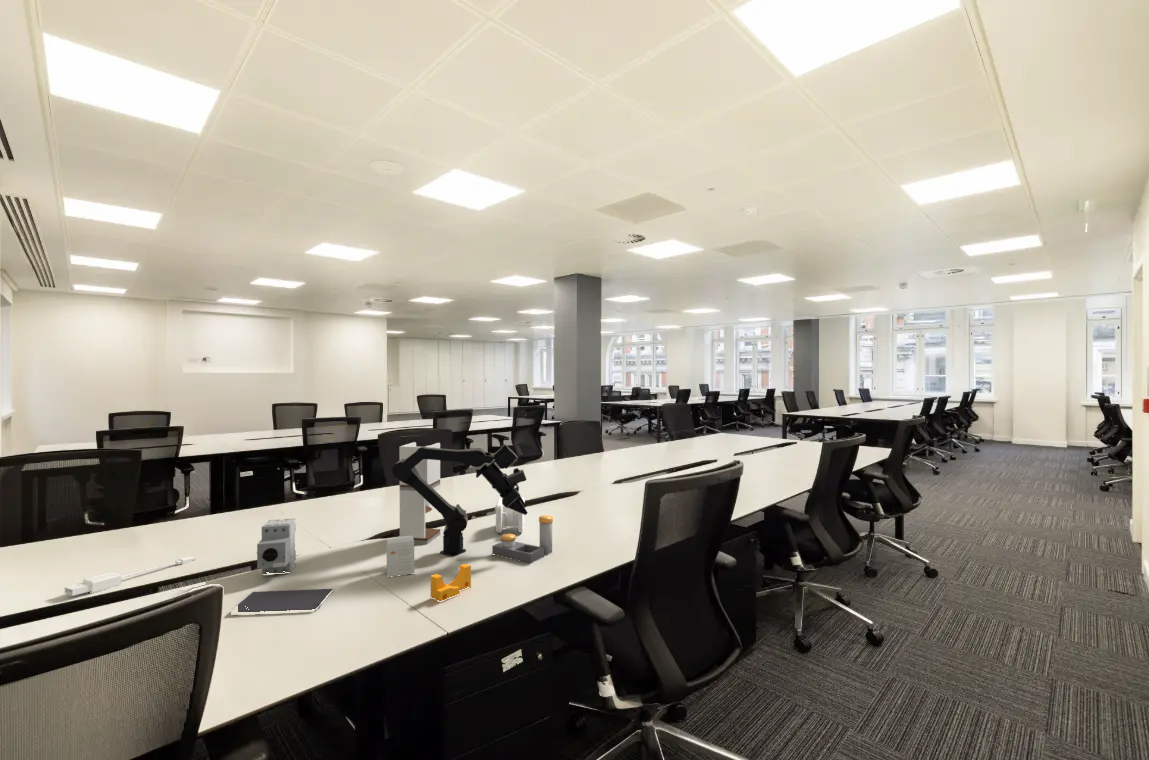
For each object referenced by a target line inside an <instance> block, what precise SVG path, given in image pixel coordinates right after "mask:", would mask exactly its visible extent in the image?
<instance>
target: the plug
mask: <svg viewBox="0 0 1149 760" xmlns="http://www.w3.org/2000/svg"><path fill="white" fill-rule="evenodd" d="M553 522H554V516H553V515H547V514H546V515H545V514H544V515H540V516H539V517H538V523H539V547H544V555H550V554H552V553H553ZM549 553H550V554H549Z"/></svg>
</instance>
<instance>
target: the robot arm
mask: <svg viewBox="0 0 1149 760" xmlns="http://www.w3.org/2000/svg"><path fill="white" fill-rule="evenodd" d="M425 446H426V445H425ZM425 446H422V447H421V446H419V447H420V448H419V449H418V450H417V451H416V452H415V453H413V454H412V455H411V456H409V457H408V458H407V459H402V460H400V459H399V460H398V461H397V462H396V463H395V464H394V465H393V466H392V469H391V473H392V475H393V477H394V478H395V479H397V480H399V482H400V481H401V482H403V483H405V484H407V485H410V486H411V487H413V488H414V489H415V490H416V491H417V492H418V493H419V494H420V495H421V496H422V497H423V498H424V499H426V500H427V501H428V502H429V503H430V504H431V505H432V508H434V509H435V510H436V511H437V512H438V513H440V514H441V515H442V518H443V519H444V521H445V523H446V525H445V526H444V529H443V536H442V537H443V538H442V540H443V541H442V546H443V547H442V548H443V550H440V551H439V554H441V555H442V554H443V555H446V556H451V557H455V556H457V555H460V554H462V553H465V552H466V551H467V549H466V548H464V536H463V534H464V533H463V532H464V531H465V530H466V528H467V526H468V522H469V520H468V514H467V510H465V509H463V508H462V506H461V505H460V504H458V503H457V504H456V505H455V506H454V505H452V504H451V503H449V502H448V501H447V500H446V499H445V498H444V497H442V495H441V494H439V493H438V492H437V490H436V491H435V490H434V489H433V488H432V487H431V486H430V485H429V484H428V483H427V482H426V481H424V480H423V479H422V478H421V477H420V475H419V473H418V471H417V470H416V468H415V466H416V465H417V464H418V463H419V462H421V461H422V460H423V459H430V460H440V461H442V462H443V461H445V462H458V463H460V464H463V465H467V466H470V467H475V468H476V469H475V478H479V477H480V476H481V475H482V476H483V478H485V480H486V481H487V482H488V483H489V484H490V486H491V488H492V489H493V490H495V491H496V492H497V493H498V494H499V496H500V497H499V498H502V504H503V505H504V506H505V507H507V508H510V509H512V510H515V511H517V512H519V513H522V514H524V515H525V516H526V515H527V514H528V511H527V509H526V507H527V505H526V502H525V503H524V501H523V499H522V498H521V497H522V496H521V493H520V492H519V490H520V486H519V485H518V484H519V483H522V482H525V481H527V477H526V475H525V471H524V469H520V468H518V467H516V468H514V469H513V470H512V471H513V472H512V473H511V474H509V475H508V474H507V473H504V472H503V471H502V470H504V469H508V468H509V467H510V466H512V464H514V463H515V462H516V461H517V460H518V459H519V457H518V456H517V454H516V453H515V452H514V451H513V450H512V449H511V448H510V447H509V446H507V444H506V443H505V444H503V445H502V446H501V447H500V449H498V450H497V451H496V452H494V453H493V452H487V451H485V450H484V449H483V448H480V447H473V448H466V449H465V448H464V449H453V448H452V449H451V448H441V447H440V448H430V447H425ZM495 463H496V464H495ZM501 469H502V470H501Z"/></svg>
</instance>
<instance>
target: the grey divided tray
mask: <svg viewBox="0 0 1149 760" xmlns="http://www.w3.org/2000/svg"><path fill="white" fill-rule="evenodd" d="M516 539H517V538H516V534H513V533H504V534H501V541H500V542H498V543H496V544H494V545H491V546H492V547H491V549H492V550H491V552H492V553H491V554H495V555H494V556H496V555H499V556H498V557H500V556H503V557H502V558H505V557H507V558H506V559H509V558H512V559H511V560H513V559H516V560H515V561H518V560H520V561H519V562H522V561H524V562H523V563H527V562H528V563H527V564H533V563H535V562H536V561H538V560H540V559H542V558H544V557H545V554H544V547H540V545H539V546H538V545H533V544H530V543H529V544H528V543H523V542H519V541H516ZM534 561H535V562H534Z"/></svg>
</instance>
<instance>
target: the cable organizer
mask: <svg viewBox="0 0 1149 760" xmlns="http://www.w3.org/2000/svg"><path fill="white" fill-rule="evenodd" d="M521 498H522V499H523V501H524V503H525V504H526V502H525V501H526V500H525V496H521ZM494 512H495V513H496V514H495V529H496V530H495V531H496V533H497V534H502V532H503V529H506V530H507V529H508V527H513V529H514V530H516V529H517V530H518V531H517V532H518V533H520V532H522V533H523V532H524V527H525V521H526V519H525V516H526V515H524V514H522V513H519V512H517V511H515V510H512V509H510V508H507V507H505V506H504V505H503V504H502V498H501V497H499V499H498V500H497V501H496V505H495V507H494Z"/></svg>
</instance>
